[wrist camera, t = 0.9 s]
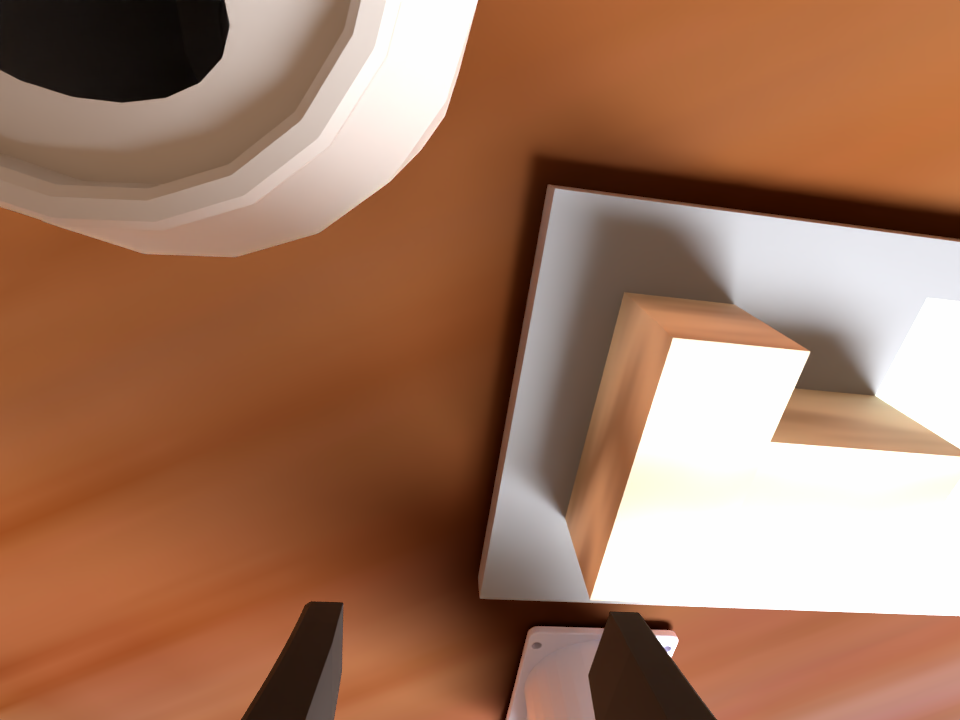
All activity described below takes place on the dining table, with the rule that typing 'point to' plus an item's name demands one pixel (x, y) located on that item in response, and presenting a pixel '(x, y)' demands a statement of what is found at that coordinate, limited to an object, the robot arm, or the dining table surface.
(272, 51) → the can
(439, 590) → the dining table surface
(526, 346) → the board
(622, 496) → the block
